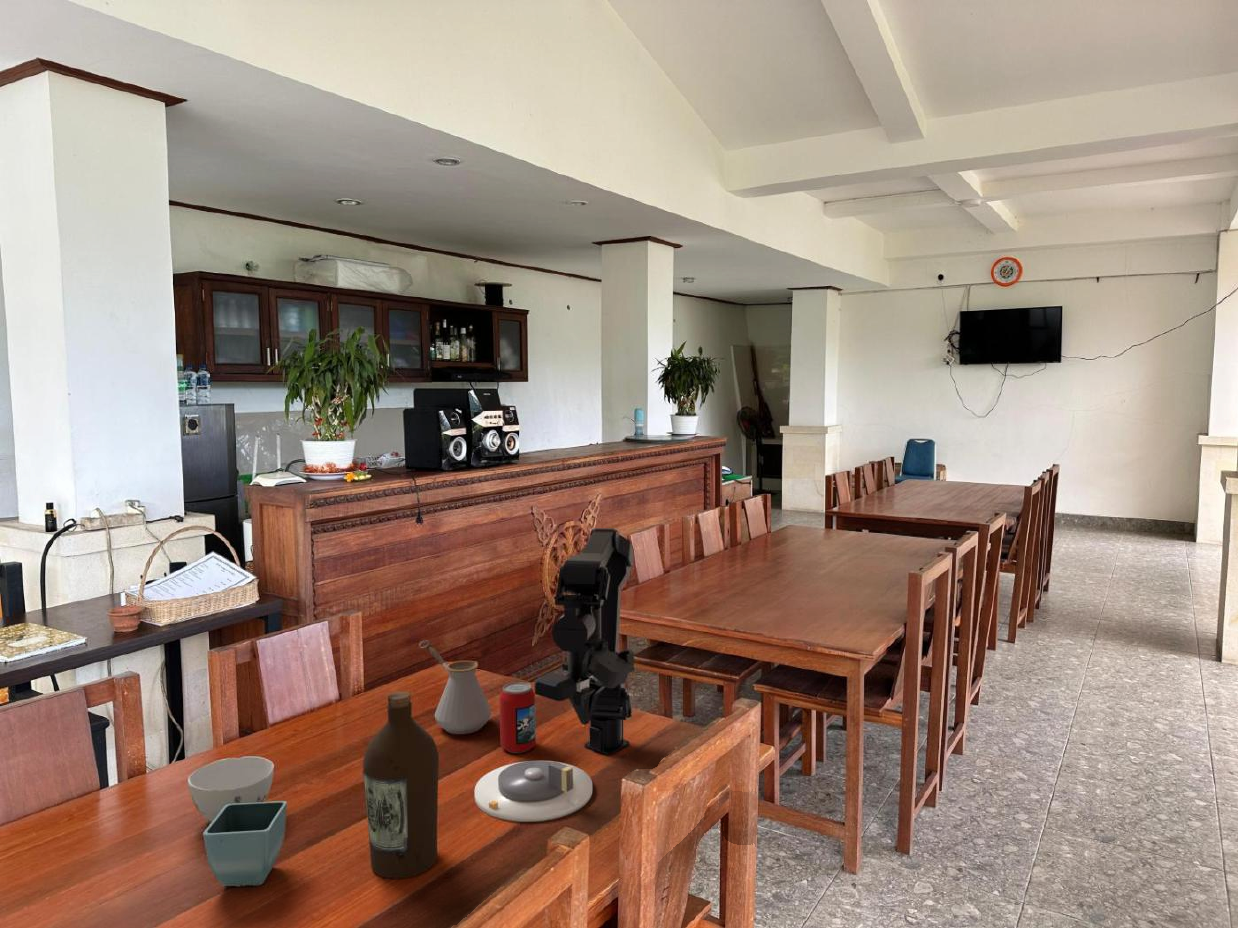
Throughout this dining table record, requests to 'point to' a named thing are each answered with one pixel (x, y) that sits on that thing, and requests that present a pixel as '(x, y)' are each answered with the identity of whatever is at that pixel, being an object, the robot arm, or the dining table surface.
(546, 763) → the dial
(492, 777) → the plate
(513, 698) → the beverage can
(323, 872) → the dining table surface
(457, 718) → the coffee pot
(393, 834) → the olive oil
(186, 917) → the dining table surface
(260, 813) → the flower pot
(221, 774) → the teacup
